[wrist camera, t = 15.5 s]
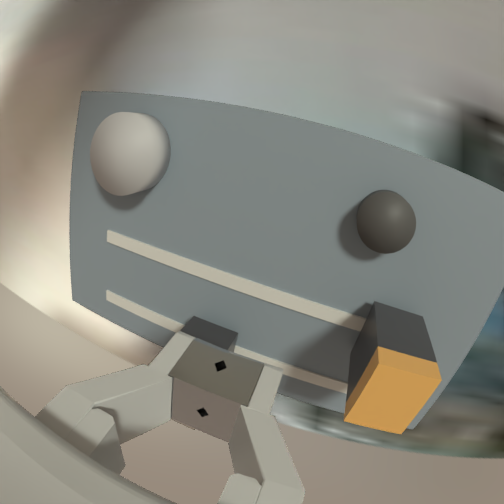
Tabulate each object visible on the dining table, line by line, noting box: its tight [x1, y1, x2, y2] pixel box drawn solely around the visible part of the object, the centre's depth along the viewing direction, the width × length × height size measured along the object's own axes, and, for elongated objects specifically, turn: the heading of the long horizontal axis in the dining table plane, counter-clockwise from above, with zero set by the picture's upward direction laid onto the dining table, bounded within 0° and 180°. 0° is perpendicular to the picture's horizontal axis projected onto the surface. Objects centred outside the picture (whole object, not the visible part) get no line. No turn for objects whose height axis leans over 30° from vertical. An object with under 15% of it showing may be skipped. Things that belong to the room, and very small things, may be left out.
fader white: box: [148, 316, 238, 430], centre depth 15 cm, size 2×3×4 cm
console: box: [70, 91, 504, 429], centre depth 15 cm, size 24×14×4 cm, turn 77°
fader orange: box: [344, 301, 442, 434], centre depth 12 cm, size 2×3×4 cm
